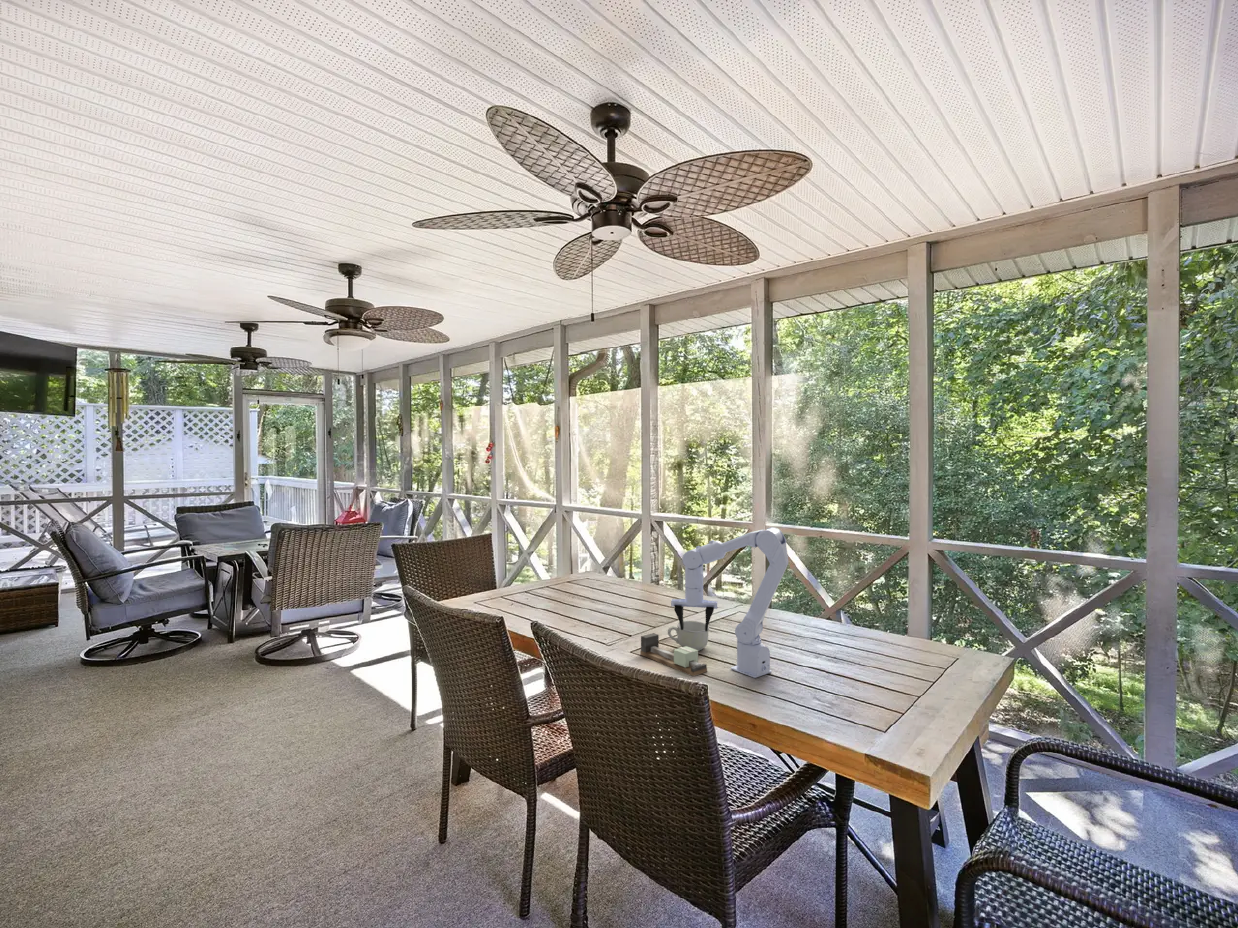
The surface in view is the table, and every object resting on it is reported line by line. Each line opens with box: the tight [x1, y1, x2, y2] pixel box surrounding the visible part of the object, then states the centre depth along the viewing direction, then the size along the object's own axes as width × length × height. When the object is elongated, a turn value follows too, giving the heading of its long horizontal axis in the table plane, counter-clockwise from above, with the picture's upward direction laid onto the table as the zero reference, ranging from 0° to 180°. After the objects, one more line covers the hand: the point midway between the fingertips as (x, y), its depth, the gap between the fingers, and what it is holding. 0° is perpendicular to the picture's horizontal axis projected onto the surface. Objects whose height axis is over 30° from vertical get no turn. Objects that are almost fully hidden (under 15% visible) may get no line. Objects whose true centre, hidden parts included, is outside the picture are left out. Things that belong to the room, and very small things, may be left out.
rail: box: [639, 632, 708, 677], centre depth 182 cm, size 24×6×6 cm, turn 38°
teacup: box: [667, 620, 710, 652], centre depth 196 cm, size 14×11×8 cm
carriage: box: [673, 646, 699, 668], centre depth 178 cm, size 5×5×4 cm
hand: (694, 629), depth 184 cm, fingers open, 7 cm apart
